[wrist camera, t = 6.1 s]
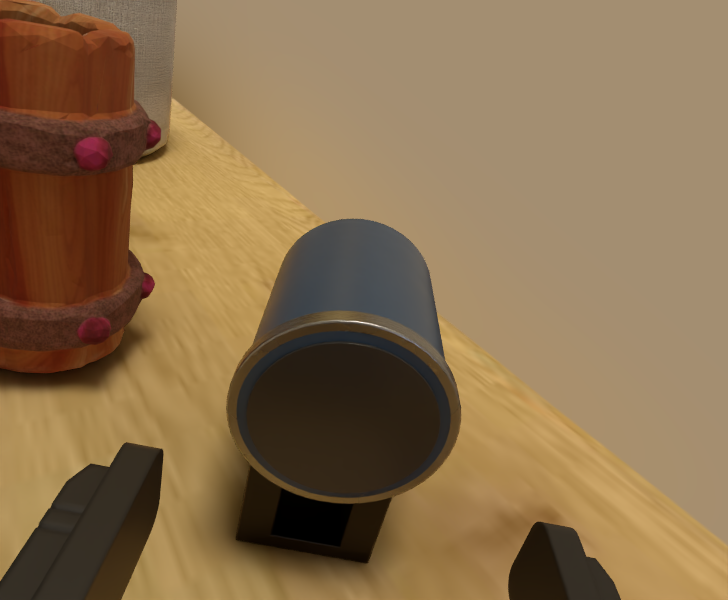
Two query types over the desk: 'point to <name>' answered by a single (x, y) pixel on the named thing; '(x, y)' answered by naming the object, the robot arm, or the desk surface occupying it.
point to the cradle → (308, 521)
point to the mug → (66, 187)
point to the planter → (140, 48)
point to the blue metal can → (347, 370)
